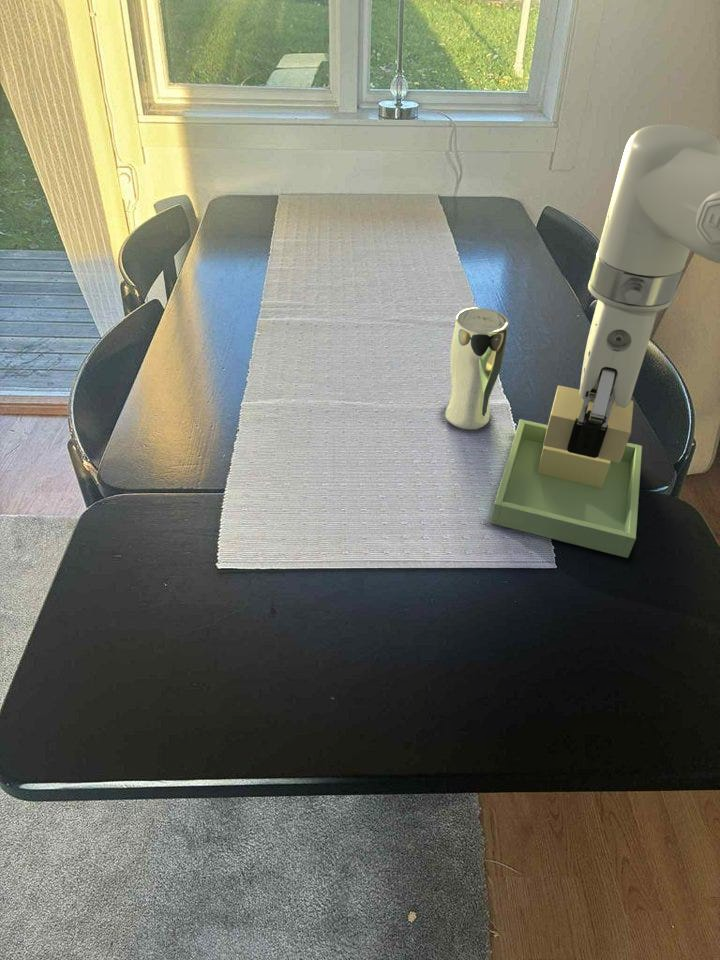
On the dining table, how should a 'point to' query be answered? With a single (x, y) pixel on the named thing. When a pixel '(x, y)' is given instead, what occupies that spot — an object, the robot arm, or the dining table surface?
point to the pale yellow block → (573, 467)
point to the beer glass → (475, 365)
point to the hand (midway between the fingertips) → (585, 433)
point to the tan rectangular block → (569, 409)
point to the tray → (568, 498)
